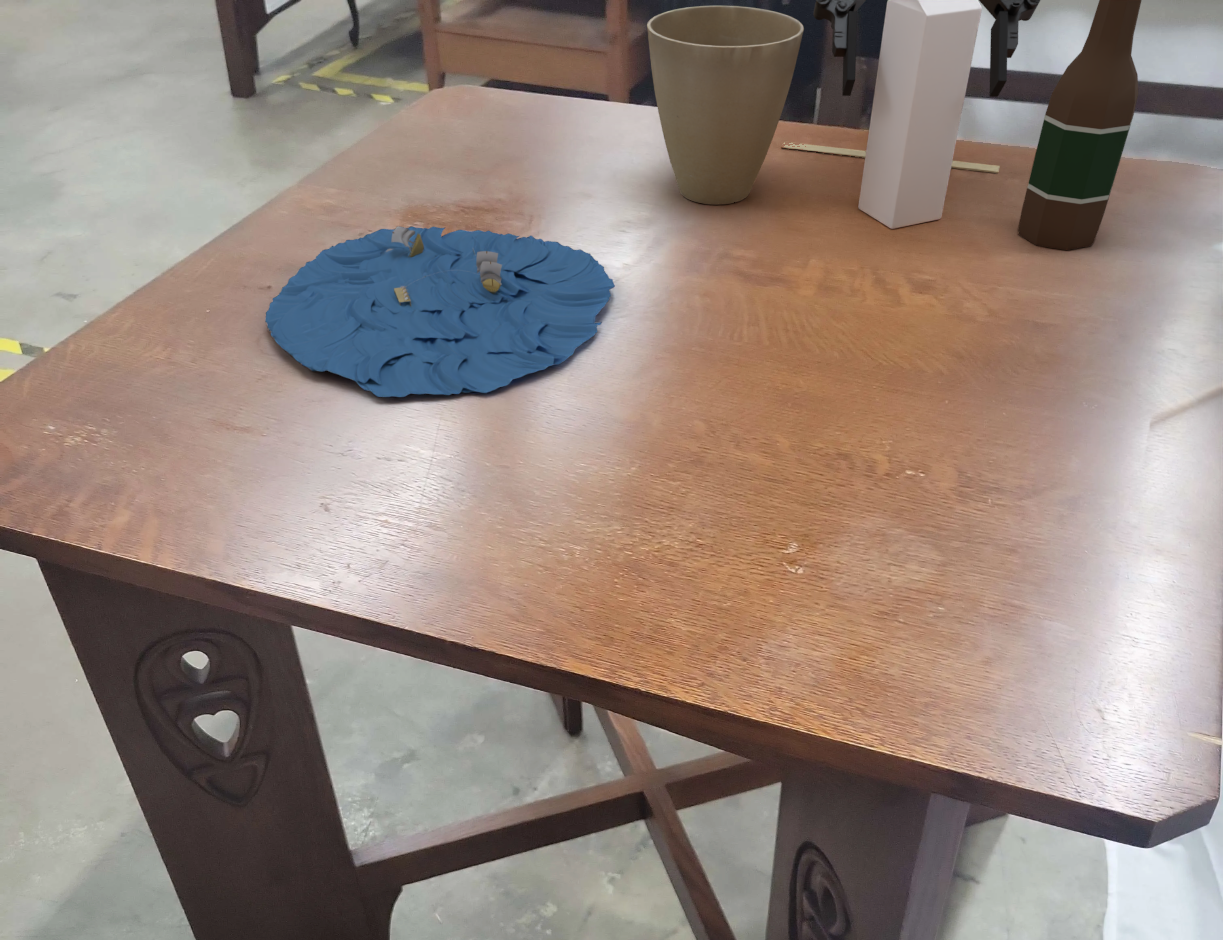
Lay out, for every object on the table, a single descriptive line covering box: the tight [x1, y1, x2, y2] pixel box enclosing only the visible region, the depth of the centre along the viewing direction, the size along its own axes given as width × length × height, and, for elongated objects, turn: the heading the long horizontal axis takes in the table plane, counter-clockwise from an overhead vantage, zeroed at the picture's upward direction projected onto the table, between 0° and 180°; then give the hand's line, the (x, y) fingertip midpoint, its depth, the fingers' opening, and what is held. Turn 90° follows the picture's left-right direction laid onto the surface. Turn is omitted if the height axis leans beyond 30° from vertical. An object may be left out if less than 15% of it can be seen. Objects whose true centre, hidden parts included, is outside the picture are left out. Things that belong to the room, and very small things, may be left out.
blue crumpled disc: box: [264, 225, 616, 398], centre depth 91 cm, size 30×30×5 cm
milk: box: [857, 0, 983, 230], centre depth 100 cm, size 6×6×22 cm
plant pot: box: [646, 5, 805, 206], centre depth 107 cm, size 15×15×16 cm
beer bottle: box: [1017, 0, 1142, 251], centre depth 95 cm, size 8×8×24 cm
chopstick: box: [783, 142, 1001, 174], centre depth 119 cm, size 24×2×1 cm, turn 69°
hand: (923, 89), depth 99 cm, fingers open, 13 cm apart
